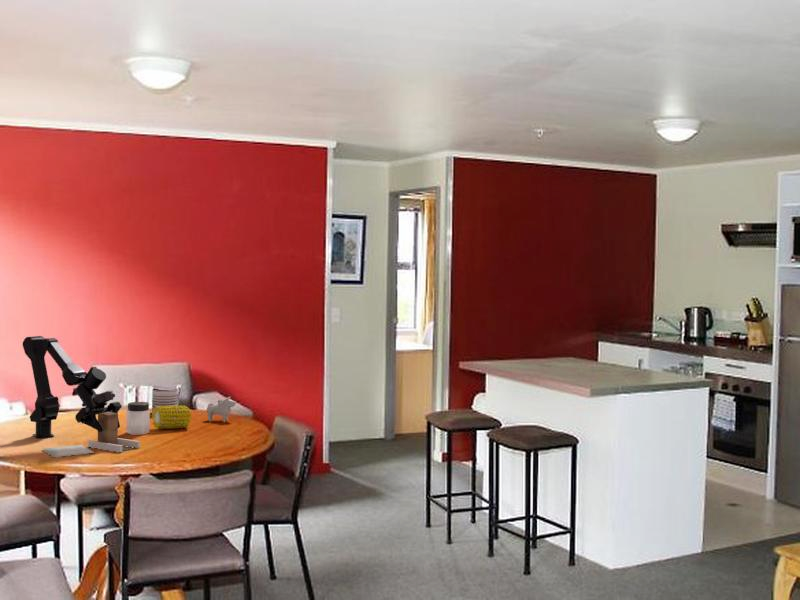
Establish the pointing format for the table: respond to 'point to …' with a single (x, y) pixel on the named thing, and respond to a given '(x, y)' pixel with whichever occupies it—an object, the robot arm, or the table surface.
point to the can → (164, 396)
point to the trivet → (67, 450)
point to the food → (171, 417)
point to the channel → (115, 447)
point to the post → (108, 427)
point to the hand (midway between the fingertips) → (110, 429)
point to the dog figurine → (220, 408)
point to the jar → (138, 418)
